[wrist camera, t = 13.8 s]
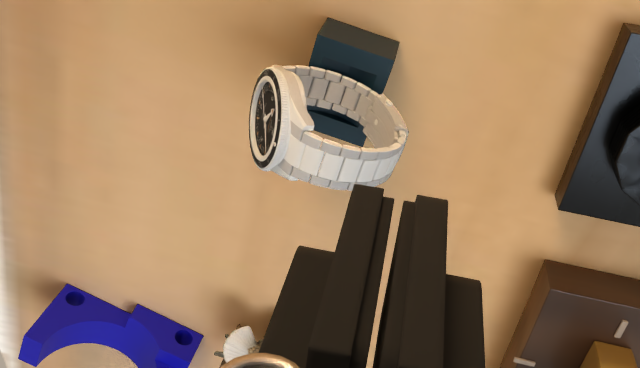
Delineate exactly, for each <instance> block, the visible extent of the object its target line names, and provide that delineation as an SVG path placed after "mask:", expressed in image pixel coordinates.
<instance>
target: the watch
mask: <svg viewBox="0 0 640 368" xmlns="http://www.w3.org/2000/svg"><path fill="white" fill-rule="evenodd" d="M398 46H399V42H398V41H395V40H392V39H389V38H386V37H383V36H380V35H377V34H374V33H372V32H369V31H366V30H363V29H360V28H357V27H354V26H351V25H348V24H345V23H343V22H340V21H337V20H334V19H331V18H327V20H326V22H325V23H324V25H323V26H322V28H321V30H320V31H319V33H318V34H317V38H316V41H315V45H314V48H313V52H312V55H311V59H310V62H309V66H302V65H295V66H292V65H291V66H281V65H273V66H271V67H267V68H265V69H264V70H263V71H262V72H261V74H260V76H259V78H258V80H257V82H256V85H255V88H254V91H253V95H252V100H251V106H250V115H249V139H250V147H251V152H252V156H253V159H254V162H255V164H256V165H257V167H258V168H259V169H261V170H263V171H273V172H275V173H276V174H278V175H280V176H282V177H284V178H286V179H288V180H292V181H297V180H298V179H299V180H302V181H305V182H309V183H310V184H313V185H317V186H321V187H325V188H327V187H328V188H329V189H336V190H349V191H352V190H353V186H354V184H360V185H366V186H371V187H375V186H377V185H378V184H382V183H384V182H385V181H386V180H387V179H388V178H389V177H390V176H391V174H392V172H393V169H394V167H395V165H396V163H397V162H398V160H399V158H400V156H401V154H402V151H403V149H404V146H405V143H406V140H407V137H408V133H409V131H408V129H407V126H406V124H405V122H404V120H403V118H402V116H401V115H400V113H399V111H398V110H397V109H396V107H395V106H394V105H393V103H392V101H390V100H389V99H388V98H387V97H386V96H385V95H384V94H383V91H384V88H385V86H386V83H387V80H388V77H389V75H390V72H391V69H392V67H393V64H394V61H395V58H396V54H397V50H398ZM313 130H315V131H318V132H321V133H323V134H326V135H329V136H332V137H335V138H338V139H341V140H344V141H346V142H349V143H352V144H355V145H358V146H361V147H362V148H361V149H360V148H358V147H354V146H349V145H341V144H340V143H337V142H334V141H331V140H328V139H324V140H323V139H322V137H320V136H318V135H316V134H313V133H312V132H310V131H313ZM366 137H367V138H368V139H369V140H370V142H371V143H372V145H373V146H374V148H364V147H363V145H364V142H365V139H366ZM322 140H323V141H322ZM321 143H322V145H321ZM320 146H321V147H320ZM324 153H325V154H324ZM323 156H324V157H323ZM322 159H323V160H322ZM321 162H322V163H321ZM320 165H321V166H320ZM319 168H320V169H319ZM318 171H319V172H318ZM310 176H311V178H310ZM309 179H310V181H309Z"/></svg>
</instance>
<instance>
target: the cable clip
mask: <svg viewBox="0 0 640 368" xmlns="http://www.w3.org/2000/svg"><path fill="white" fill-rule="evenodd" d="M202 338H203V335H201V334H199V333H197V332H195V331H193V330H191V329H189V328H186V327H184V326H182V325H180V324H178V323H176V322H174V321H172V320H170V319H168V318H166V317H164V316H162V315H159V314H157V313H155V312H153V311H151V310H149V309H147V308H145V307H143V306H141V305H139V304H137V306H136V308H135V309H134V311H133V312H132V314H130V313H128V312H125V311H123V310H121V309H119V308H117V307H115V306H113V305H111V304H109V303H107V302H105V301H103V300H100V299H98V298H96V297H94V296H92V295H90V294H88V293H86V292H84V291H82V290H80V289H78V288H75V287H73V286H71V285H69V284H66V286H65V287H64V288H63V289H62V291H61V292H60V293H59V294H58V295H57V297H56V298H55V299H54V300H53V301H52V303H51V304H50V305H49V306H48V307H47V309H46V310H45V311H44V312H43V313H42V315H41V316H40V317H39V318H38V320H37V321H36V322H35V323H34V324H33V326H32V327H31V328H30V329H29V330H28V332H27V333H26V334H25V335H24V338H23V342H22V346H21V350H20V354H19V357H18V359H20V360H22V361H24V362H26V363H28V364H31V365H33V366H35V367H37V365H38V364H39V363H40V362H41V361H42V360H43V359H44V358H45V357H47V356H48V355H49V354H51V353H53V352H54V351H56V350H58V349H60V348H63V347H66V346H69V345H73V344H79V343H96V344H102V345H106V346H109V347H112V348H114V349H116V350H119V351H120V352H122V353H124V354H125V355H126V356H128V357H129V358H130V359H131V360H132V361H133V362H134V363H135V364H136V365H137V367H138V368H188V366H189V364H190V363H191V360H192V358H193V356H194V354H195V352H196V350H197V348H198V346H199V344H200V342H201V340H202Z"/></svg>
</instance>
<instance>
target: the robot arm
mask: <svg viewBox="0 0 640 368" xmlns="http://www.w3.org/2000/svg"><path fill="white" fill-rule="evenodd" d="M383 192H384V189H382V188H377V187H371V186H366V185H360V184H354V186H353V190H352V193H351V197H350V201H349V204H348V208H347V211H346V215H345V218H344V222H343V225H342V229H341V232H340V236H339V240H338V243H337V247H336V250H335V252H330V251H325V250H319V249H314V248H309V247H304V246H299V247H298V248H297V250H296V253H295V255H294V258H293V261H292V263H291V266H290V269H289V272H288V274H287V277H286V280H285V282H284V285H283V288H282V290H281V293H280V296H279V298H278V301H277V304H276V307H275V309H274V312H273V315H272V317H271V320H270V323H269V325H268V328H267V331H266V334H265V336H264V339H263V342H262V344H261V347H260V350H259V352H258V353H250V354H246V355H243V356H239V357H236V358H234V359H232V360H230V361H229V362H227V363H225V364H224V365H222V366H221V367H220V368H366V364H367V358H368V352H369V347H370V341H371V335H372V329H373V323H374V317H375V311H376V305H377V299H378V293H379V287H380V281H381V276H382V270H383V264H384V258H385V252H386V246H387V240H388V234H389V228H390V222H391V216H392V210H393V204H394V199H393V198H387V197H383ZM447 217H448V201H447V200H443V199H438V198H432V197H427V196H421V195H417V197H416V201H415V202H409V201H404V203H403V207H402V212H401V217H400V222H399V227H398V233H397V238H396V243H395V248H394V253H393V258H392V263H391V268H390V273H389V278H388V283H387V288H386V293H385V298H384V303H383V308H382V313H381V319H380V325H379V331H378V337H377V344H376V350H375V356H374V363H373V368H485V352H484V329H483V307H482V288H481V283H480V281H479V280H474V279H468V278H463V277H458V276H453V275H448V274H446V250H447Z"/></svg>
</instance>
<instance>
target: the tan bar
mask: <svg viewBox="0 0 640 368" xmlns="http://www.w3.org/2000/svg"><path fill="white" fill-rule="evenodd" d="M580 368H637V364H636V361H635V358H634V355H633V352H632V350H631V349H628V348H624V347H620V346H615V345H611V344H607V343H603V342H599V341H594V342H593V344H592V346H591V348H590V350H589V352H588V353H587V355H586V357H585V359H584V361H583V363H582V364H581V366H580Z"/></svg>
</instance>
